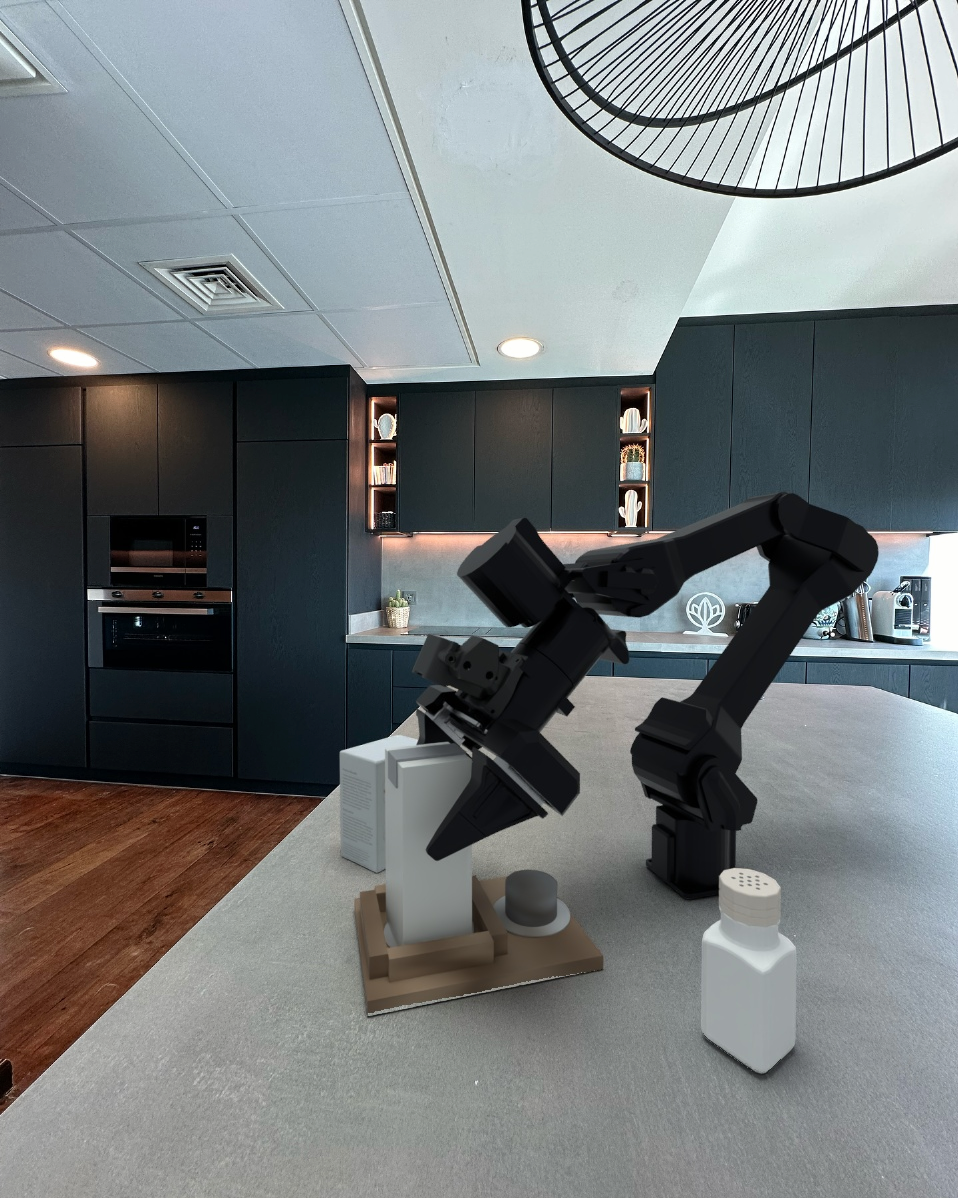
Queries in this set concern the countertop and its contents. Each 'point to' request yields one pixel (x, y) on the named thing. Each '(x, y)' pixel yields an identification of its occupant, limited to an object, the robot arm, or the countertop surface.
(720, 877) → the salt shaker
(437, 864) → the tall white box
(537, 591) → the robot arm
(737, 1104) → the countertop surface
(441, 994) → the wooden holder board
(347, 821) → the small box
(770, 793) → the countertop surface
